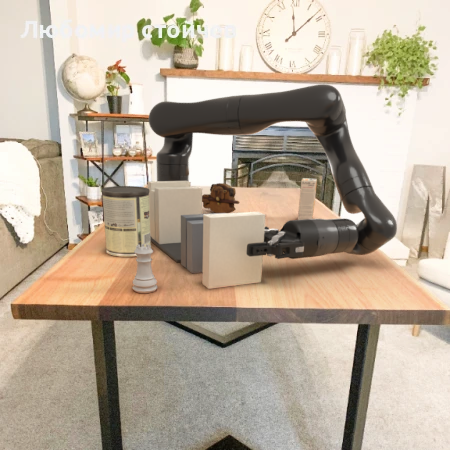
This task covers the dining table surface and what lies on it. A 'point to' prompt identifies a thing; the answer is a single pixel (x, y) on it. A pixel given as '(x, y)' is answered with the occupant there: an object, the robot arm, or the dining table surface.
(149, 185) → the white books
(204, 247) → the white book
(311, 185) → the supplement box
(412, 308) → the dining table surface
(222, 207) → the wooden carving
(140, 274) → the rook chess piece
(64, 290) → the dining table surface
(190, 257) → the grey books
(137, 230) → the coffee can
